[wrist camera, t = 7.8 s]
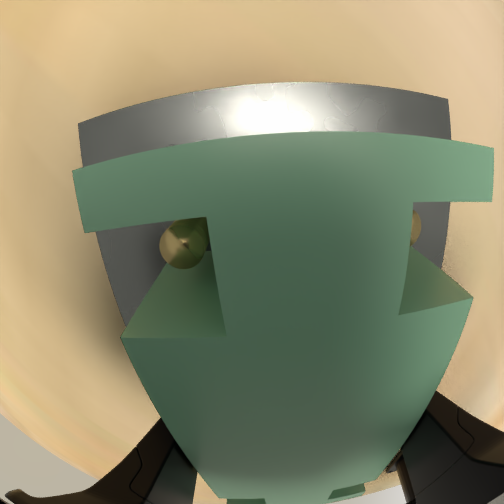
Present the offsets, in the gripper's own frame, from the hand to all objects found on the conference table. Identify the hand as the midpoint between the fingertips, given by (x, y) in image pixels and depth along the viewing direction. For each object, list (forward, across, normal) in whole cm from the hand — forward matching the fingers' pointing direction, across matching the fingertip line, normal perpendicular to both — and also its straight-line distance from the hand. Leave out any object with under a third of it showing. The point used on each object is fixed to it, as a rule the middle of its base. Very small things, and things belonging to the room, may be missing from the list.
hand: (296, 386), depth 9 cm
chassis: (+4, 0, 0) cm, 4 cm away
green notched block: (+1, 0, 0) cm, 1 cm away
